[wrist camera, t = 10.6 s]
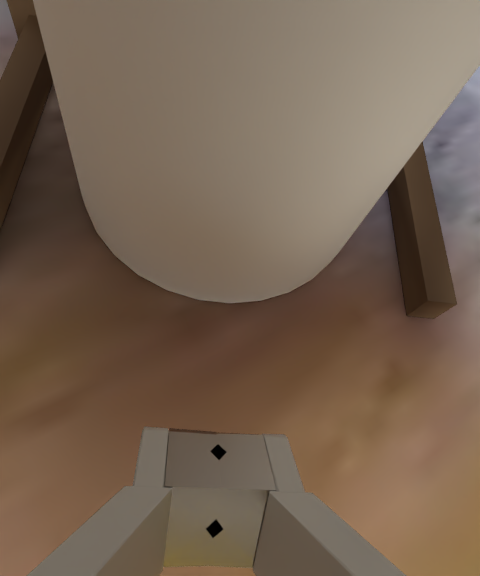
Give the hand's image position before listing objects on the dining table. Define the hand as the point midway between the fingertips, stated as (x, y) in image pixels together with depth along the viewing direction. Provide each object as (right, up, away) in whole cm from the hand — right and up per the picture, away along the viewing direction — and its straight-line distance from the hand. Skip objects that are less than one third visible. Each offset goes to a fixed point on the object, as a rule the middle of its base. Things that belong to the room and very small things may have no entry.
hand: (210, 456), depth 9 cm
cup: (0, +8, +10) cm, 13 cm away
